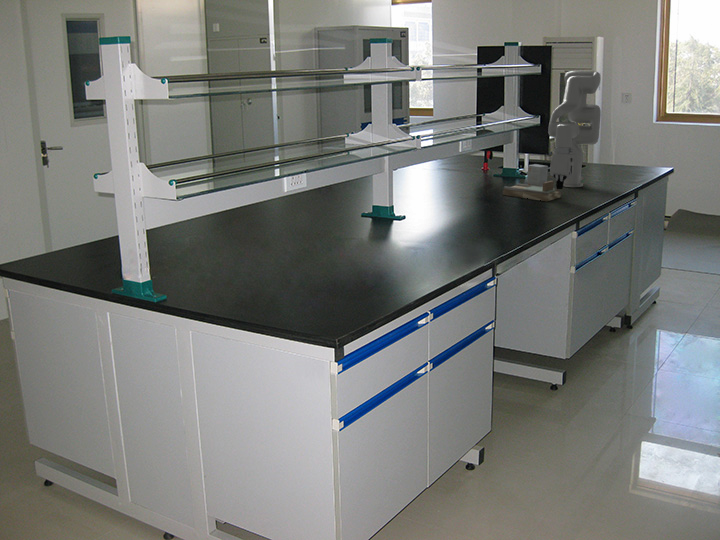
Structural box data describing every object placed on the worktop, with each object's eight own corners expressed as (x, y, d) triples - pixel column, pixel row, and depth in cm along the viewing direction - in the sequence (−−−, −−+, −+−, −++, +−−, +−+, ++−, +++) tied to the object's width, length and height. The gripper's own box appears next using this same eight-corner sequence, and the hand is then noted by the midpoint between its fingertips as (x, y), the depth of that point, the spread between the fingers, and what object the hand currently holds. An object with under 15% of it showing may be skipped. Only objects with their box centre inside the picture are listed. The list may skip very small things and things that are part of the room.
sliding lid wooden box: (517, 190, 386) (517, 183, 384) (560, 197, 370) (561, 189, 369) (502, 194, 376) (503, 186, 374) (546, 201, 360) (547, 193, 359)
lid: (533, 187, 377) (534, 177, 375) (555, 191, 369) (556, 180, 368) (523, 190, 370) (523, 180, 368) (545, 193, 362) (546, 183, 361)
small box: (546, 191, 385) (548, 165, 381) (538, 192, 381) (540, 167, 378) (533, 188, 391) (535, 163, 387) (526, 190, 387) (527, 165, 384)
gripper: (581, 151, 355) (577, 189, 360) (552, 148, 364) (549, 185, 370) (573, 153, 349) (570, 192, 355) (544, 149, 359) (541, 188, 364)
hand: (559, 188), depth 362 cm, fingers closed
